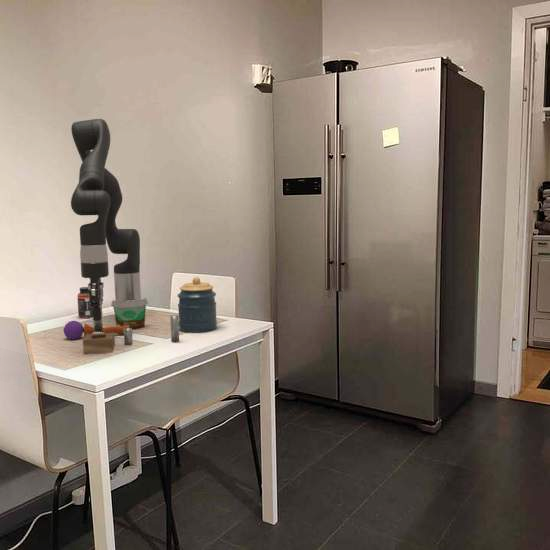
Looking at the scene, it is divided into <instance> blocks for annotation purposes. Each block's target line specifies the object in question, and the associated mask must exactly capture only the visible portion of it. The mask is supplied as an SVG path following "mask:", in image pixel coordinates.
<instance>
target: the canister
mask: <svg viewBox="0 0 550 550" xmlns="http://www.w3.org/2000/svg"><path fill="white" fill-rule="evenodd" d="M213 289H214V286H213V285H211V284H210V283H209V282H205V281H204V282H203V281H202V282H201V279H200V277H198V276H196V277H195V276H194V278H192V282H188V283H184V284H183V285H182V286H180V287H179V290H180V292H179V293H177V297H178V301H179V302H178V303H177V308H178V321H179V331H181V332H186V333H205V332H211V331H214V330H215V329H217V325H218V319H217V302H216V299H215V298H216V295H217V293H216V292H215V291H214V290H213Z"/></svg>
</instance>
